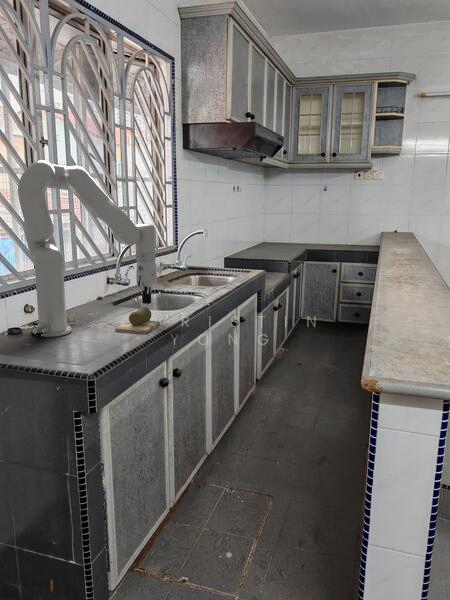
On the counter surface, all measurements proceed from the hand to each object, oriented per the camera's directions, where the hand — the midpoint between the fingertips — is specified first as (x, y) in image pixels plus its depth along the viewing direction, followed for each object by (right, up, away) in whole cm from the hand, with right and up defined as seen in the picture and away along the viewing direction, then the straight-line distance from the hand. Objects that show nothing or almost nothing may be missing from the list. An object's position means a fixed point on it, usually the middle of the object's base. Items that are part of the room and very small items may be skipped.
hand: (146, 303), depth 191 cm
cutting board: (-2, -9, -7) cm, 12 cm away
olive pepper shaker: (-1, -4, +1) cm, 5 cm away
